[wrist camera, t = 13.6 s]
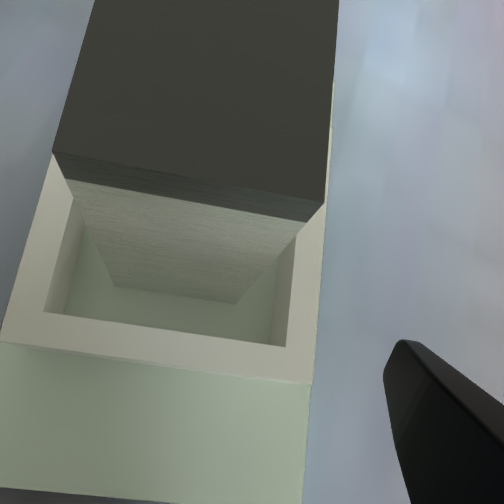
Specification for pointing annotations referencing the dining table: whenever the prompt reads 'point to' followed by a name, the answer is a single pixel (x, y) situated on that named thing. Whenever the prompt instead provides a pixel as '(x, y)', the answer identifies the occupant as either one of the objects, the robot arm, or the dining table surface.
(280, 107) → the grey tall block
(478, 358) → the dining table surface
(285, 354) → the collar holder
